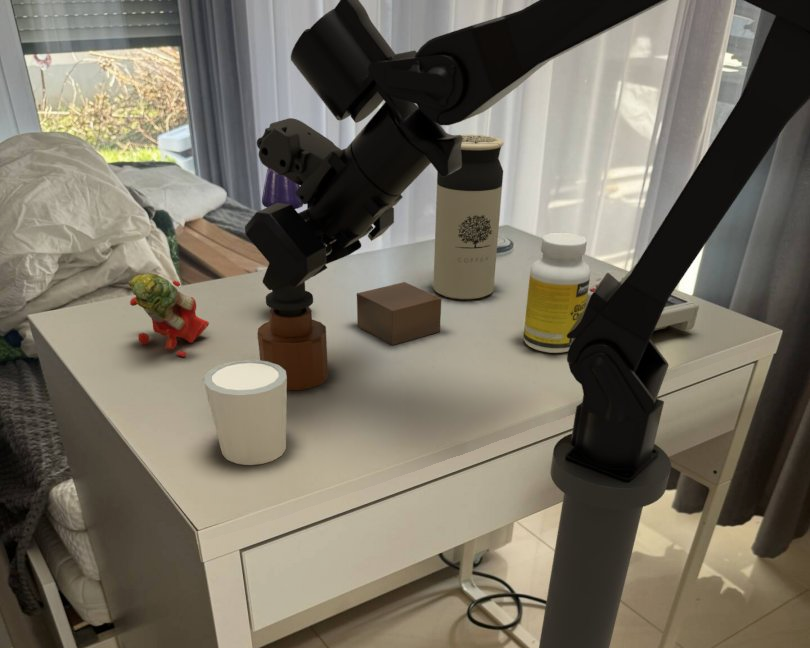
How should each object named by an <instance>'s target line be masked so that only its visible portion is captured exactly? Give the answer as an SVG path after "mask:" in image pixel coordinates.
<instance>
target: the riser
mask: <svg viewBox="0 0 810 648" xmlns="http://www.w3.org/2000/svg"><path fill="white" fill-rule="evenodd" d="M356 313H357V314H356V317H357V319H356V321H357V322H356V323H357V327H358V328H360V329H362V330H364V331H366V332H367V333H368V334H371V335H373V336H374V337H376V338H378V339H379V340H382V341H383V342H385V343H387V344H389V345H391V346H395V345H399V344H402V343H405V342H409V341H412V340H416V339H419V338H420V339H421V338H424V337H428V336H431V335H433V334H437V333H440V332H441V318H442V317H441V316H442V297H439V296H437V295H435V294H433V293H431V292H428V291H426V290H424V289H422V288H419V287H417V286H415V285H412V284H410V283H408V282H406V281H402V282H398V283H394V284H390V285H386V286H382V287H378V288H374V289H369V290H365V291H360V292H357V293H356Z"/></svg>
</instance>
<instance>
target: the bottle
mask: <svg viewBox="0 0 810 648" xmlns="http://www.w3.org/2000/svg"><path fill="white" fill-rule="evenodd" d="M268 313H269V321H267V322H265V323H263V324H261V325H260V326H259V327H258V328H257V342H258V343H257V344H258V351H259V361H268V362H271V363H274V364H277V365H279V366H280V367H282V368H283V369H284V370H285V371H286V376H287V391H302V390H308V389H312V388H315V387H318V386H320V385H322V384H323V383H324V382H325V381H327V379H328V377H329V364H328V362H329V361H328V345H327V343H328V342H327V327H326V325H325V324H323V323H322V322H321V321H318V320H315V319H313V316H312V315H313V314H312V309H311V307H310V306H309V307H307V308H304V309H302V315H299V316H291V317H288V316H280V314H279V310H276V309H273V308H270V309H269V312H268Z"/></svg>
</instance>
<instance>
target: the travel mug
mask: <svg viewBox="0 0 810 648" xmlns="http://www.w3.org/2000/svg"><path fill="white" fill-rule="evenodd" d="M460 135H461V136H462V137H463V141H462V144H461V157H462V167H461V168H460V169H459V170H457V171H455V172H453V173H451V174H450V175H448V176H446V177H442V176H441V175H440V174H439V173H438V171H437V170H436V172H437V173H436V202H435V226H434V227H435V229H434V230H435V232H434V255H433V256H434V259H433V283H432V284H433V287H432V288H433V290H434V291H435V293H437V294H439V295H441V296H443V297H446V298H448V299H453V300H461V301H462V300H468V301H469V300H477V299H481V298H485V297H487V296H488V295H490V294H492V293H493V292H494V289H495V276H496V265H497V264H496V263H497V253H498V252H497V251H498V241H499V229H500V217H501V203H502V192H503V191H502V190H503V179H504V170H503V166H502V164H501V161H500V154H501V149H502V147H503V146H504V144H505V143H504V140H503V139H501V138H499V137H496V136H491V135H486V134H485V135H483V134H460Z"/></svg>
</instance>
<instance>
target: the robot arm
mask: <svg viewBox="0 0 810 648" xmlns="http://www.w3.org/2000/svg"><path fill="white" fill-rule="evenodd" d="M668 1H669V0H537V1H535V2H534V3H532V4H530V5H528V6H526V7H525V8H523V9H521V10H517V11H515V12H511V13H508V14H506V15H505V14H504V15H502V16H498V17H495V18H492V19H489V20H486V21H485V20H484V21H481V22H479V23H475V24H472V25H469V26H466V27H462V28H459V29H456V30H453V31H450V32H448V33H447V32H446V33H444V34H442V35H438V36H435V37H433V38H431V39H428V40H427V41H426V42H425V43H424V44H423V45H421V47H419V49H418V51H416V50H410V51H405V52H399V53H395V51H394V50H393V48H392V47H391V46H390V45H389V43H388V42H387V40H386V39H385V38H384V37H383V35H382V34H381V33H380V31H379V30H378V29H377V27H376V26H375V25H374V23H373V22H372V20H371V18H370V15H369V14H368V12H367V10H366V8H365V7H364V5H363V4H362V3H361V1H360V0H339V1H338V3H337V4H336V6H335V7H334V8H333V9H330V10H329V11H328V12H326V13H325V14H324V15H323V16H321V17H320V18H318V19H317V21H315V22H314V23H313V24H312V25H311V26H310V28H306V29H305V30H303V32H302V33H301V35H300V36H299V37H298V39H297V41H296V42H295V44H294V45H293V48H292V50H291V52H290V53H291V54H290V61H291V63H292V64H293V65H294V66H295V67H296V69H297V70H298V71H299V73H300V74H301V75H302V76H303V78H304V79H305V81H306V82H307V83H308V84H309V85H310V87H311V88H312V89H313V91H314V92H315V93H316V95H317V96H318V97H319V99H320V100H321V101H322V102H323V103H324V105H325V106H326V107H327V109H328V110H329V112H330V113H331V114H332V115H333V117H335V119H336V120H337V121H343V120H345V119H347V118H349V117H350V118H351V119H352V121H353V122H354V123H355V124H357V123H360V122H362V121H364V120H365V119H366V118H367V117H369V116H370V115H371V114H372V113H373V112H374V111H375V110H376V109H377V108H378V107H380V108H379V109H378V110H377V111H376V112H375V113H374V114H373V116H372V117H371V118H370V120H369V121H368V122H367V123H366V124H365V126H364V127H362V129H361V130H360V132H359V133H358V134H356V136H355V138H354V139H352V141H351V142H350V143H349V144H348V146H347V147H346V148H343V149H341V148H340V147H339V146H337V145H336V144H335V143H334V142H333V141H332V140H330V139H329V138H327V137H326V136H324V135H323V134H322V133H320V132H319V131H316V130H315V129H314V128H312V127H311V126H309V125H308V124H307V123H304V122H303V121H302V120H299V119H297V118H292V117H288V118H285V119H282V120H277V121H274V122H271V123H270V124H269V127H266V128H265V129H264V133H263V135H262V136H261V137H258V138H257V140H256V147H257V148H258V149H259V150H258V158H259V161H260V162H261V164H262V165H263V166H265V167H266V168H267V169H268V168H269V169H272V170H273V171H275V172H276V173H278V174H279V175H284V176H285V177H287V178H288V179H290V180H291V181H293V182H294V183H296V184H298V185H300V187H299V188H298V190H297V191H296V192H295V194H296V195H297V196H298V198H299V199H300V200H301V201H302V203H303V205H306V207H307V209H304V210H302V211H300V212H298V211H297V209H294V208H293V206H292V205H290V204H282V203H277V204H274V205H272V206H270V207H265V208H263V209H260V210H258V211H256V212H255V213H254V215H252V217H250V220H249V221H248V222H247V223H246V224H245V226H244V234H245V236H246V237H247V238H248V239H249V240H250V242H251V244H253V246H254V247H255V248H256V249H257V250H258V251H259V253H260V254H261V255H262V256H263V257H264V258H265V260H266V261H267V263H268V265H267V268H266V269H265V273H264V275H263V278H262V284H263V285H264V286H265V288H266V289H267V290H269V291H272V290H273V289H276V288H279V287H281V286H284V285H287V284H288V285H290V286H293V287H297V286H298V285H300V284H302V283H303V282H305V283H306V282H307V281H309V280H310V279H311V278H313V277H315V276H317V275H318V274H321V273H322V272H323V271H325V270H327V269H328V264H331V263H333V262H336V261H338V260H340V259H343V258H345V257H348V256H350V255H352V254H354V253H355V252H356V251H358V250H360V249H361V248H362V243H361V241H360V240H361V239H362V238H364V237H365V236H367V237H368V239H369V240H370V241H371V242H373V241H374V240H376V239H377V238H379V237H380V236H382V235H384V233H385V232H387V230H388V229H389V228H390V227H391V226H392V225H393V224H394V223H395V208H394V207H395V206H396V205H398V203H399V202H401V200H402V199H403V198H404V197H403V195H402V194H403V193H404V192H405V190H407V188H409V186H410V185H411V184H413V183H414V182H415V180H416V179H417V178H418V177H419V176H420V175H421V174H422V173H423V172H424V171H425V169H427V167H428V166H429V165H432V166H433V167H434V169H435V171H436V172H437V171H438V173H439V174H440V175H441V176H442V177H446V176H448V175H450V174H451V173H453V172H455V171H457V170H459V169H460V168H461V167H462V157H461V144H462V141H463V137H462V136H461V135H462V134H450V133H448V132H446V130H445V129H444V128H443V126H451V125H454V124H458V123H461V122H463V121H466V120H468V119H471V118H473V117H475V116H477V115H480V114H483V113H485V112H486V111H487V110H489V109H490V108H492V107H493V106H494V105H496V104H497V103H498V102H500V101H501V100H502V99H504V98H505V97H507V95H509V94H510V93H512V92H513V91H514V90H516V89H517V88H519V86H520V85H522V84H523V83H524V82H526V80H528V79H529V78H530V77H531V76H533V75H534V74H535V73H536V72H537V71H539V70H540V69H541V68H542V67H544V66H545V65H546V64H548V63H549V62H551V61H553V60H554V59H556V58H558V57H560V56H561V55H564V54H565V53H568V52H570V51H572V50H574V49H576V48H577V47H580V46H582V45H584V44H585V43H587V42H590V41H591V40H593V39H595V38H597V37H599V36H601V35H604V34H605V33H607V32H609V31H612V30H613V29H615V28H617V27H619V26H621V25H623V24H624V23H627V22H629V21H631V20H633V19H634V18H637V17H639V16H640V15H642V14H644V13H647V12H648V11H650V10H652V9H654V8H656V7H658V6H660V5H662V4H663V3H666V2H668ZM743 1H744V2H746V3H748V4H749V5H752V6H754V7H756V8H758V9H760V10H763V11H765V12H767V13H769V14H771V15H774V16H775V17H774V19H773V21H772V24H771V26H770V28H769V30H768V32H767V35H766V37H765V40H764V42H763V44H762V47H761V50H760V52H759V53H758V55H757V58H756V61H755V62H754V65H753V67H752V70H751V72H750V74H749V77H748V80H747V82H746V84H745V86H744V89H743V91H742V93H741V95H740V97H739V98H738V100H737V102H736V104H735V105H734V107H733V108H732V110H731V111H730V113H729V114H728V116H727V118H726V120H725V121H724V123H723V124H722V126H721V128H720V129H719V130H718V133H717V134H716V136H715V137H714V139H713V140H712V142H711V144H710V145H709V146H708V149H707V150H706V151H705V153H704V154H703V156H702V158H701V160H700V162H699V163H698V164H697V166H696V168H695V169H694V171H693V172H692V174H691V176H690V177H689V179H688V180H687V182H686V184H685V186H684V187H683V189H682V190H681V192H680V193H679V195H678V197H676V200H675V202H674V203H673V205H672V207H671V208H670V210H669V211H668V212H667V214H666V216H665V217H664V219H663V221H662V222H661V223H660V226H659V227H658V229H657V230H656V232H655V234H654V235H653V237H652V238H651V240H650V241H649V243H648V244H647V246H646V248H645V249H644V250H643V253H642V255H641V256H640V258H639V259H638V261H637V262H636V264H635V265H634V266H633V267H632V268H631V269H630V270H629V271H628V272H627V273H626V276H625V277H624V278H623V279H622V280H621V281H620V282H619V281H618V280H616V279H615V278H614V277H613V276H612V275H610V274H609V273H606V275H605V276H604V278H603V279H602V280H601V282H600V283H599V285H598V286H597V288H596V289H595V291H594V292H593V294H592V295H591V297H590V300H589V302H588V305H587V307H586V308H585V309H584V311H583V312H582V313H581V315H580V316H579V318H578V319H577V321H576V322H575V324H574V325H573V327H572V328H571V330H570V331H569V333H568V334H567V338H575V339H574V340H573V342H572V343H571V345H570V348H569V350H568V351H567V355H566V362H567V364H568V367H569V371H570V373H571V375H572V376H573V377H574V379H575V380H576V382H577V383H579V384H580V385H581V389H582V394H583V395H582V401H581V402H580V403H579V404H578V405H576V408H575V413H574V418H573V419H574V420H573V425H572V432H571V434H572V437H571V445H572V446H574V448H573V449H571V450H570V451H569V452H568V453H566V456H565V459H566V460H567V461H569V462H572V463H574V464H577V465H580V466H582V467H585V468H588V469H590V470H593V471H596V472H598V473H601V474H603V475H606V476H609V477H611V478H614V479H617V480H619V481H622V482H625V483H628V482H631V481H632V480H633V479H634V478H635V477H636V476H637V475H639V474H640V473H641V472H642V471H643V470H644V469H645V468H646V467H647V466H648V465H649V464H650V463H651V462H653V461H654V460H655V459H656V458H657V457H658V453H659V452H658V451H657V450H655V449H653V447H654V444H656V438H657V433H658V429H659V425H660V421H661V417H662V412H663V409H664V404H665V401H664V400H662V399H659V398H658V396H659V393H660V390H661V388H662V385H663V382H664V380H665V377H666V375H667V372H668V369H669V366H670V365H669V362H668V361H667V360H666V358H665V357H664V356H663V354H662V353H661V352H660V350H659V349H658V348H657V346H656V345H655V344H654V342H653V341H652V340H651V338H652V336H653V334H654V332H655V331H654V329H655V327H656V325H657V323H658V321H659V318H660V316H661V314H662V312H663V310H664V307H665V305H666V303H667V301H668V299H669V297H670V295H671V294H673V293H674V291H675V289H676V288H677V287H678V285H679V283H680V282H681V281H682V279H683V278H684V276H685V275H686V273H687V272H688V270H689V269H690V267H691V266H692V264H693V263H694V262H695V260H696V258H698V255H699V254H700V253H701V251H702V250H703V249H704V247H705V245H706V244H707V242H708V241H709V240H710V238H711V236H713V233H714V232H715V231H716V229H717V228H718V226H719V225H720V224H721V221H722V220H723V219H724V217H725V216H726V214H727V213H728V211H729V210H730V208H731V207H732V205H733V204H734V202H735V201H736V200H737V198H738V197H739V195H740V194H741V192H742V190H743V189H744V188H745V186H746V184H747V183H748V182H749V180H750V179H751V177H752V176H753V174H754V173H755V171H756V170H757V169H758V167H759V166H760V165H761V162H763V160H764V158H765V156H766V155H767V153H769V150H770V149H771V148H772V146H773V145H774V144H775V142H776V140H777V139H778V137H779V136H780V134H782V132H783V130H784V128H785V127H786V126H787V124H788V123H789V121H791V119H793V117H795V115H796V114H797V113H798V112H799V111H800V110H801V109H802V108H803V106H805V105H806V104H807V103H808V102H809V101H810V0H743ZM383 101H384V103H383ZM382 103H383V104H382ZM381 104H382V105H381ZM380 105H381V106H380Z"/></svg>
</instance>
